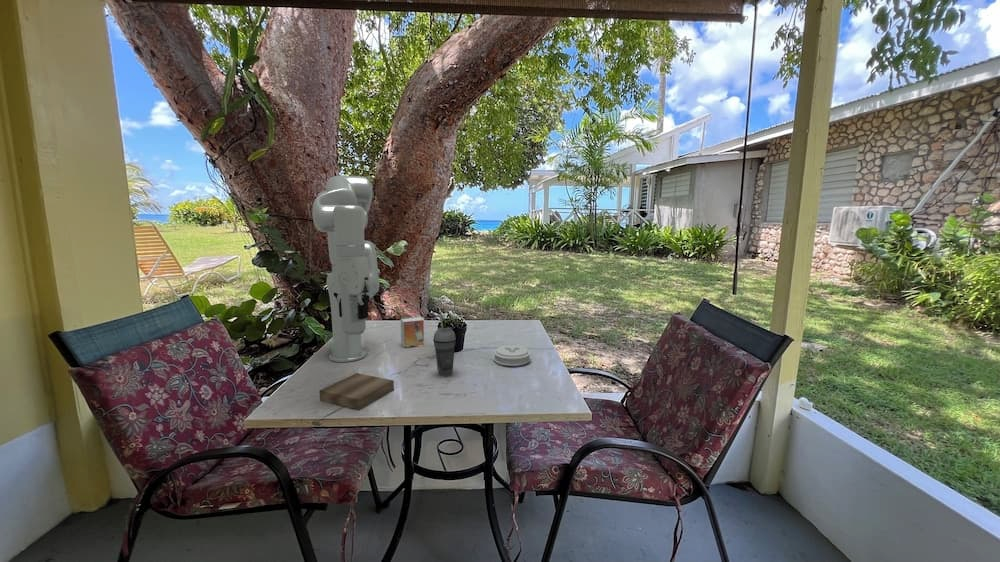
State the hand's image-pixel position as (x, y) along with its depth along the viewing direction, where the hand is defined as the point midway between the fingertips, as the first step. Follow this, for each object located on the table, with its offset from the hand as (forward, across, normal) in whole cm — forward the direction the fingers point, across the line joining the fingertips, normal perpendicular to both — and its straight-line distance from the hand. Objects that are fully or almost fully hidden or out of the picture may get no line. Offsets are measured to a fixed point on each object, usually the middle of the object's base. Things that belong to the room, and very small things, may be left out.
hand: (353, 316), depth 114 cm
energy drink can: (+5, 0, 0) cm, 5 cm away
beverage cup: (+23, +14, +24) cm, 36 cm away
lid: (+23, +29, +44) cm, 58 cm away
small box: (+23, -14, +45) cm, 52 cm away
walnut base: (+23, 0, 0) cm, 23 cm away
